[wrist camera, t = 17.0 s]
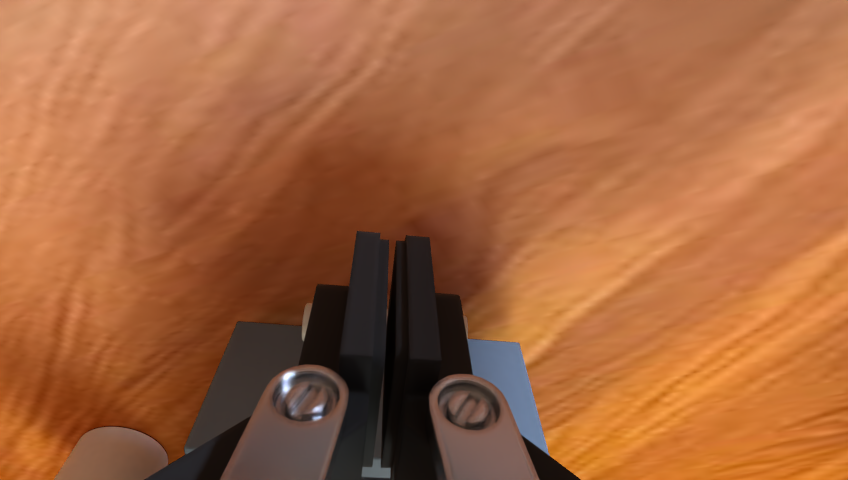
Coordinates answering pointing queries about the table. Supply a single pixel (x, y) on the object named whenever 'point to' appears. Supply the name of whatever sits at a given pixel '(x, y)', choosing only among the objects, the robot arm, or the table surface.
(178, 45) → the table surface
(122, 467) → the paper roll
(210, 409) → the drawer
